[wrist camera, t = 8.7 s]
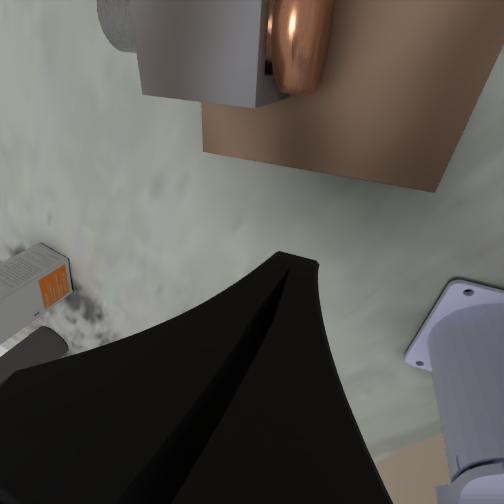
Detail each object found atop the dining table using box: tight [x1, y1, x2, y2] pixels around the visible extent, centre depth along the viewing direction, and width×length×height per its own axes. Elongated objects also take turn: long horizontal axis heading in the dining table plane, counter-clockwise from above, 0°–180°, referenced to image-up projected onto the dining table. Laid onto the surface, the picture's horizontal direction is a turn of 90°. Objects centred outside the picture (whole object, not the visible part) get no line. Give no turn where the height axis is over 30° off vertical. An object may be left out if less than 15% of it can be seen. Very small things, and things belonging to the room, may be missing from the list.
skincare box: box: [0, 243, 73, 344], centre depth 29 cm, size 6×4×12 cm
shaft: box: [97, 0, 335, 96], centre depth 11 cm, size 9×4×4 cm, turn 87°
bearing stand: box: [129, 0, 504, 193], centre depth 11 cm, size 13×12×6 cm
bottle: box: [0, 327, 68, 383], centre depth 40 cm, size 6×6×15 cm
